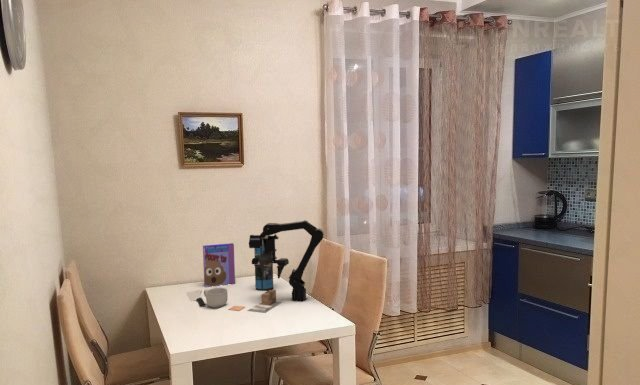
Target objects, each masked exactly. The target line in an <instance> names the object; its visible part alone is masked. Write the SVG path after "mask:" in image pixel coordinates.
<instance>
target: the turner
mask: <svg viewBox="0 0 640 385" xmlns="http://www.w3.org/2000/svg"><path fill="white" fill-rule="evenodd" d="M260 296H261V297H260V298H261V303H262V305H259V304H260V303H258V304H256V305H253V306H252V307H250V308H249V309H250V310H253V311H261V312H265V311H267V310H269V309H270V308H272V306H270V305H272V304H273V303H275V302H276V301H277V290H276V289H273V290H269V291H264V292H263V293H261V295H260ZM269 311H270V310H269Z"/></svg>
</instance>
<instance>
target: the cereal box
mask: <svg viewBox="0 0 640 385" xmlns="http://www.w3.org/2000/svg"><path fill="white" fill-rule="evenodd" d="M202 257H203V258H202V259H203V260H202V261H203V264H202V265H203V285H204V288H213V287H221V286H220V285H222V286H229V285H228V284H231V285H235V284H236V273H235V272H236V271H235V270H236V269H235V244H234V243H220V244H207V245H202ZM212 286H213V287H212Z"/></svg>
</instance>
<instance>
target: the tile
mask: <svg viewBox="0 0 640 385" xmlns="http://www.w3.org/2000/svg"><path fill="white" fill-rule="evenodd" d="M245 308H246V306H243V305H242V306H241V305H233V306H232V307H229V308H228V309H227V310H228V311H233V312H240V311H242V310H244V309H245Z"/></svg>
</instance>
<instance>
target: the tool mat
mask: <svg viewBox="0 0 640 385" xmlns="http://www.w3.org/2000/svg"><path fill="white" fill-rule="evenodd" d="M282 303H283V302H282V301H278V300H276V302H275V303H273V304H272V305H270V306H272V308H270V309H269V310H267V311H265V312H261V311H253V310H250V308H249V309H248V310H247V311H246V312H254V313H262V314H266V313H267V312H270V311H271V310H272V309H274V308H276V307H278V306H279V305H281V304H282ZM258 304H259V305H262V302H260V303H258Z"/></svg>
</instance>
